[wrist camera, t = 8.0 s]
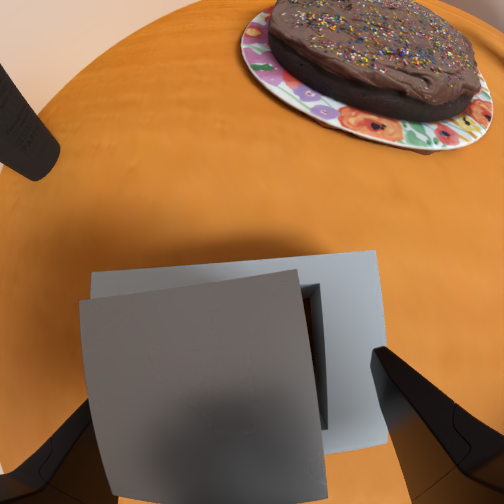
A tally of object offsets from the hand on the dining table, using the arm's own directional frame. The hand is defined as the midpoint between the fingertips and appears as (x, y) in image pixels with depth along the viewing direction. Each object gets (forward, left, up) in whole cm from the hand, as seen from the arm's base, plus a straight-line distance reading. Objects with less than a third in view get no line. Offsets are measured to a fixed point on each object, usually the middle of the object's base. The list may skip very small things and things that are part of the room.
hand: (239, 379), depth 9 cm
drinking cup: (+18, +21, -8) cm, 29 cm away
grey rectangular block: (0, 0, -8) cm, 8 cm away
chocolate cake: (+27, -14, -8) cm, 32 cm away
